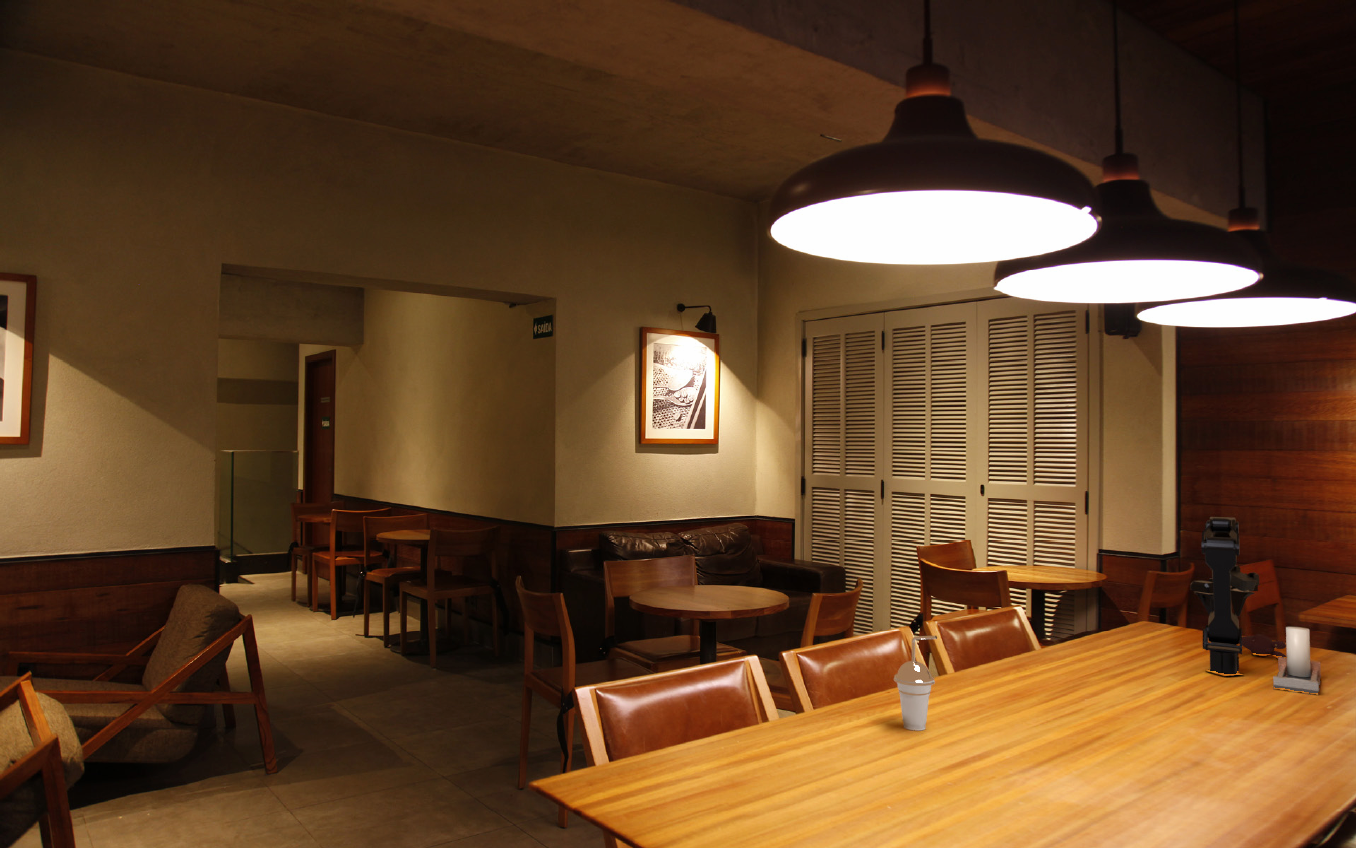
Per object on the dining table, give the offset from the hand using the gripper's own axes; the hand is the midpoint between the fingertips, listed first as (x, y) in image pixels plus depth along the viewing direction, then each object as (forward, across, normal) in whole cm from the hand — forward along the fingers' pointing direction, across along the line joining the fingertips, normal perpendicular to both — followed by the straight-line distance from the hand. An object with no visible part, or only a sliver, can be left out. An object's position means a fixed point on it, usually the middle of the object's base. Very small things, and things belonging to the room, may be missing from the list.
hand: (1224, 616), depth 244 cm
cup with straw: (+13, -118, -29) cm, 122 cm away
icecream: (+13, +18, +4) cm, 22 cm away
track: (+13, -3, -23) cm, 27 cm away
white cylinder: (+12, +2, -20) cm, 23 cm away
